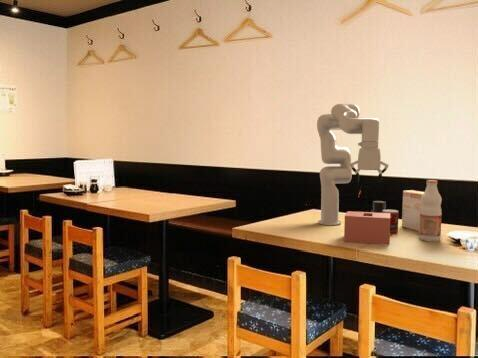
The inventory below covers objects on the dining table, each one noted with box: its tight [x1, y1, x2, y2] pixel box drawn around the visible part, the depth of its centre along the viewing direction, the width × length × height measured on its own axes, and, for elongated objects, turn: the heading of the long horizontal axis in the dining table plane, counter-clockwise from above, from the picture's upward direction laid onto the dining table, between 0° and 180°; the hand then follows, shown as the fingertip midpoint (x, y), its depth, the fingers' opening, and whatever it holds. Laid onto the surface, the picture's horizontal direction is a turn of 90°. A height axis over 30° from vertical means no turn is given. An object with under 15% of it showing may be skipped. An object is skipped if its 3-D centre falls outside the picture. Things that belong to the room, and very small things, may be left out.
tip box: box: [343, 210, 391, 246], centre depth 226 cm, size 14×20×12 cm
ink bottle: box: [370, 200, 387, 213], centre depth 269 cm, size 10×9×12 cm
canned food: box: [383, 209, 399, 235], centre depth 244 cm, size 8×8×11 cm
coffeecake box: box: [401, 189, 425, 232], centre depth 253 cm, size 15×7×20 cm, turn 18°
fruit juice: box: [418, 179, 443, 242], centre depth 227 cm, size 9×9×28 cm
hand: (368, 182), depth 225 cm, fingers open, 9 cm apart
